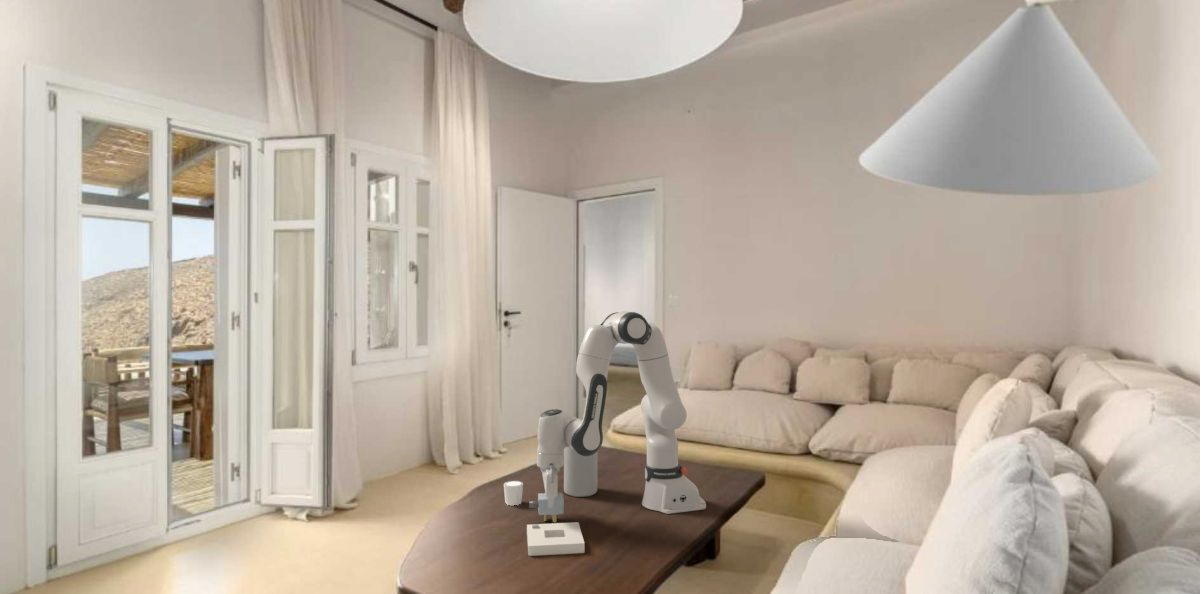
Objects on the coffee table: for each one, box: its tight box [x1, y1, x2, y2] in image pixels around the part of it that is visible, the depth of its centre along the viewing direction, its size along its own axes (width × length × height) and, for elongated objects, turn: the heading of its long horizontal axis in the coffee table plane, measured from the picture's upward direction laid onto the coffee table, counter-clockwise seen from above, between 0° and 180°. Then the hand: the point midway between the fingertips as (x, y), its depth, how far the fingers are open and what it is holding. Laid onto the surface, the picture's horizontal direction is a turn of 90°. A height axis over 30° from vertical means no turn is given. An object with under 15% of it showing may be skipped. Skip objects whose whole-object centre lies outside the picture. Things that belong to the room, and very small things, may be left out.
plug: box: [528, 492, 565, 523], centre depth 198 cm, size 11×6×8 cm, turn 98°
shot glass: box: [503, 480, 524, 507], centre depth 214 cm, size 7×7×7 cm
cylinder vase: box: [563, 447, 599, 498], centre depth 227 cm, size 12×12×25 cm
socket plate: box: [526, 521, 586, 557], centre depth 180 cm, size 16×16×4 cm
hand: (549, 502), depth 198 cm, fingers open, 8 cm apart
